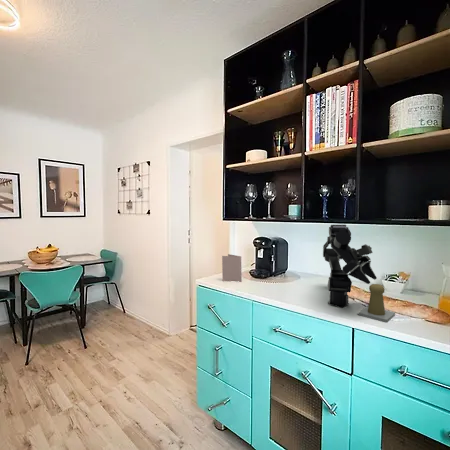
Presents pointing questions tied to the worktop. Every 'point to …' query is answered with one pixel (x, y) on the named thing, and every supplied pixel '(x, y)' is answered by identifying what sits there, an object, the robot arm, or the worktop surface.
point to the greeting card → (231, 268)
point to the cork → (376, 300)
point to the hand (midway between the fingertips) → (372, 281)
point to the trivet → (383, 318)
